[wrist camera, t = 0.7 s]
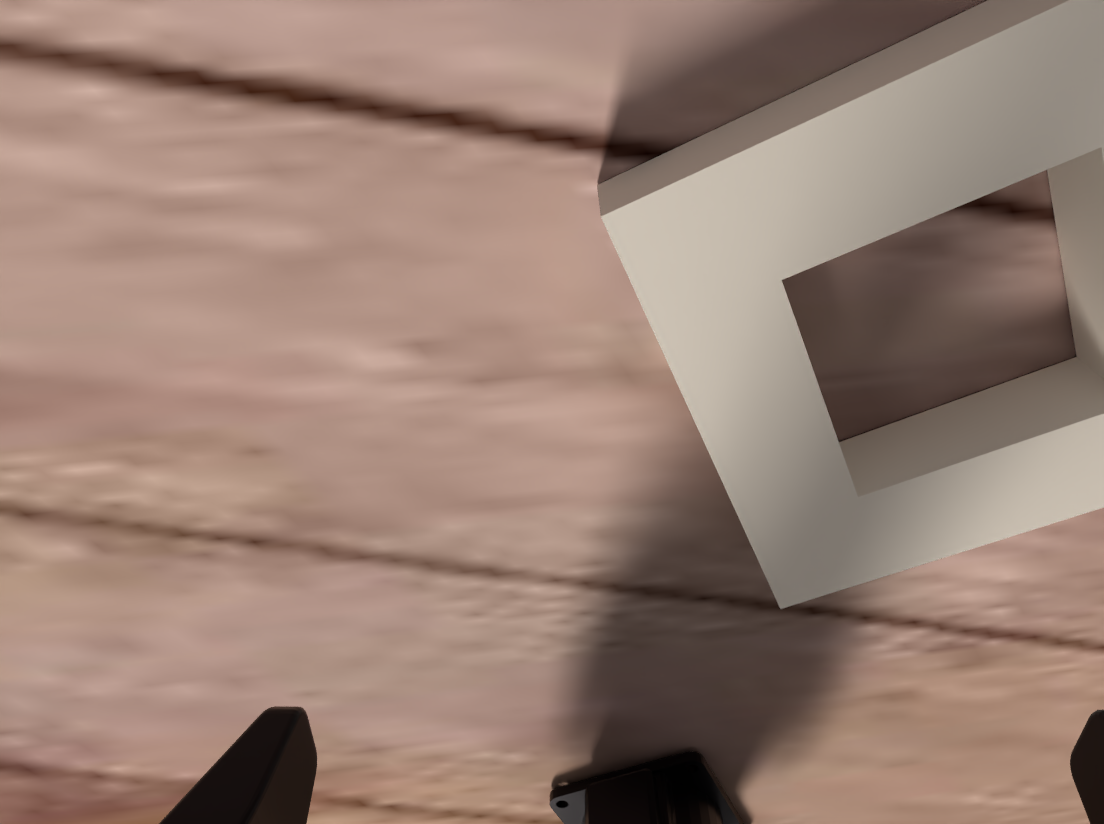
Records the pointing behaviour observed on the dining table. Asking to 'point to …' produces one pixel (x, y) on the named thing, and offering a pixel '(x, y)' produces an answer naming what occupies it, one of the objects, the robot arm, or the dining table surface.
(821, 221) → the hole plate
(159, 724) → the dining table surface
